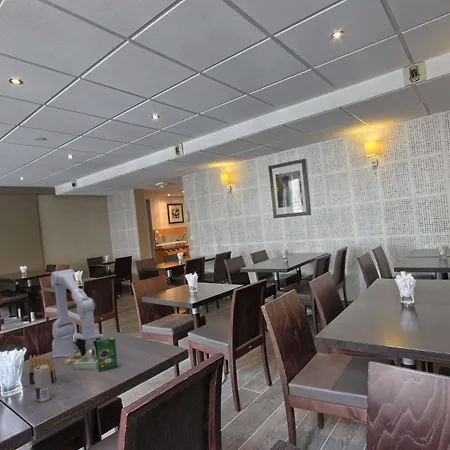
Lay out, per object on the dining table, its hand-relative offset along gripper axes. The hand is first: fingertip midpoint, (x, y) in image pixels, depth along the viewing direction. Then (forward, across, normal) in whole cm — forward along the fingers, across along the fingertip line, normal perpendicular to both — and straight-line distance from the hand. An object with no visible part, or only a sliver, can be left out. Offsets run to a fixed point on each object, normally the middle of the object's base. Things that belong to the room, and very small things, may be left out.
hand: (91, 355), depth 155 cm
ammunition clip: (+5, +12, +17) cm, 21 cm away
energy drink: (+4, 0, +30) cm, 30 cm away
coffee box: (+4, -11, +5) cm, 13 cm away
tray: (+4, 0, 0) cm, 4 cm away
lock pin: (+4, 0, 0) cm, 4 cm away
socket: (+4, +11, -6) cm, 13 cm away
